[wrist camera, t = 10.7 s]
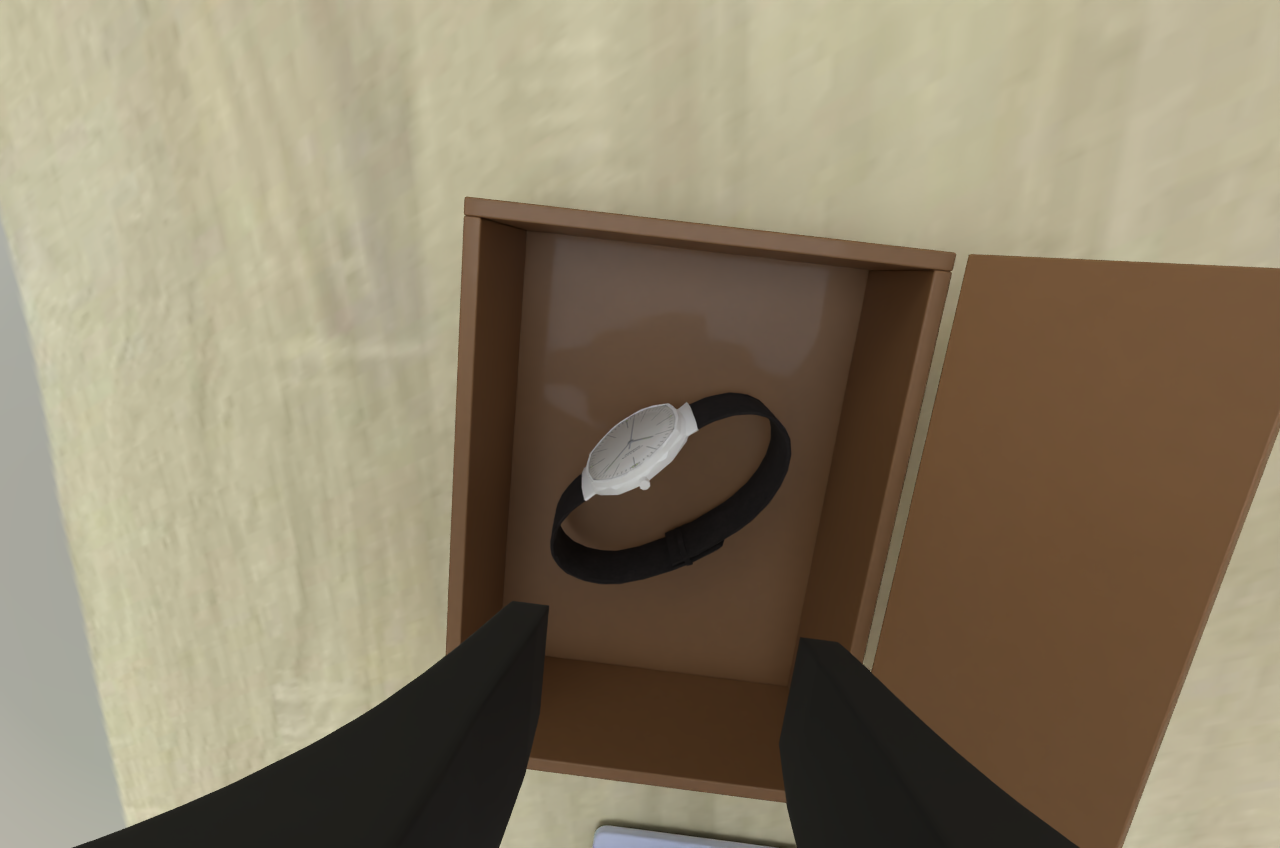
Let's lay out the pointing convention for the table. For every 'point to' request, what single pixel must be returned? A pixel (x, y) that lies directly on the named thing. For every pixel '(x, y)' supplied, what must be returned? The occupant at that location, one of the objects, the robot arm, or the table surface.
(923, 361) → the carton
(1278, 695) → the table surface
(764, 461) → the watch
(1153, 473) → the flap
